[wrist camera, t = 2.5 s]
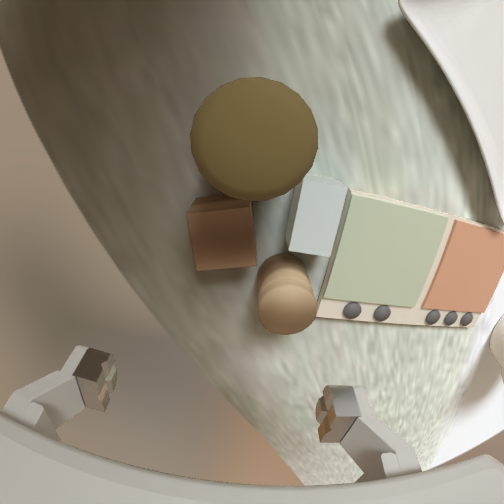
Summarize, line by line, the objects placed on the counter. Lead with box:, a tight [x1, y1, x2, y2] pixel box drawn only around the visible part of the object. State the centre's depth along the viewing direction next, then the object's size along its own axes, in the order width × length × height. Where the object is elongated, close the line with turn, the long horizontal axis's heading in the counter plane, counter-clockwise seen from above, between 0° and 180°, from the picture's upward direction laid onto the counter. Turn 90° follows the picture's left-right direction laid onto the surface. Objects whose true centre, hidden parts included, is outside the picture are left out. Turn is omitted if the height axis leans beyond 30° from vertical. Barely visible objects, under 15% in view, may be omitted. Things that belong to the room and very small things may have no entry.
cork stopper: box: [258, 254, 317, 335], centre depth 23 cm, size 4×4×5 cm
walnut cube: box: [186, 194, 257, 271], centre depth 22 cm, size 4×4×4 cm
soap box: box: [285, 173, 348, 257], centre depth 22 cm, size 5×3×3 cm, turn 171°
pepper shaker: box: [190, 77, 318, 201], centre depth 16 cm, size 6×6×11 cm
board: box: [316, 188, 504, 327], centre depth 25 cm, size 11×19×1 cm, turn 81°
